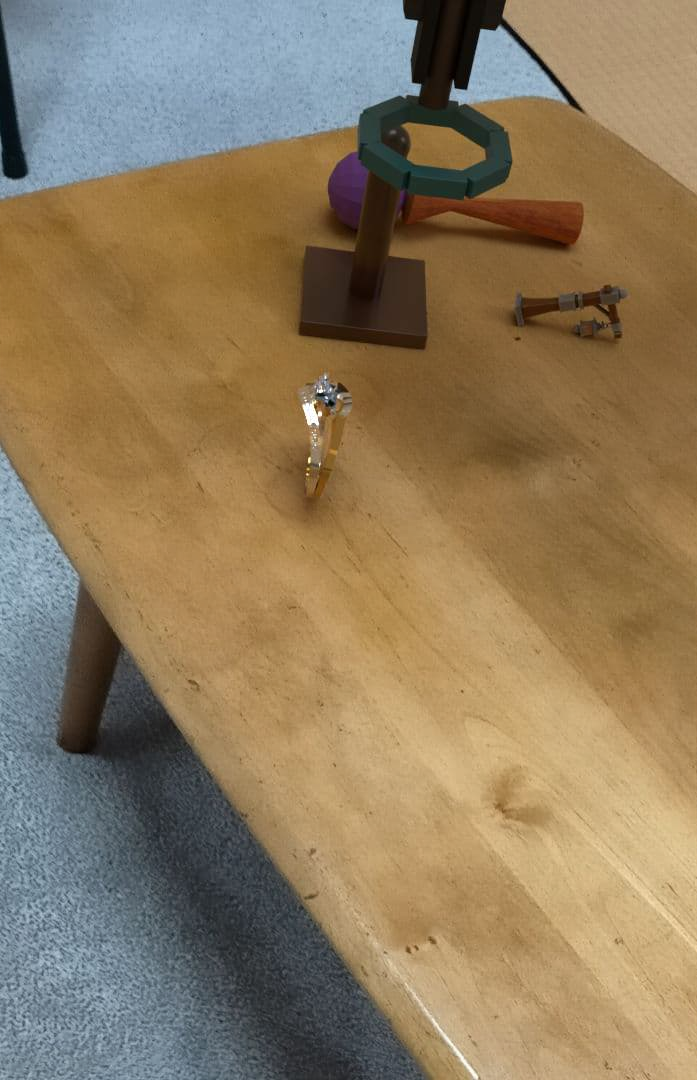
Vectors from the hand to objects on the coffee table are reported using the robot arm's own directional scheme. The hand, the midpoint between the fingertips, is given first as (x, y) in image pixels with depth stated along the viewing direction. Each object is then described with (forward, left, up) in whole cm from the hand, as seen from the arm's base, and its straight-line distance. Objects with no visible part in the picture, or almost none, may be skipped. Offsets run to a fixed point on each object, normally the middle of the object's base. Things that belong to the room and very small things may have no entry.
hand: (438, 74), depth 72 cm
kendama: (-5, -15, -21) cm, 26 cm away
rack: (+2, -5, -20) cm, 21 cm away
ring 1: (+5, +14, -21) cm, 26 cm away
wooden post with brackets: (-13, -5, -21) cm, 25 cm away
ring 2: (0, +4, -3) cm, 5 cm away
